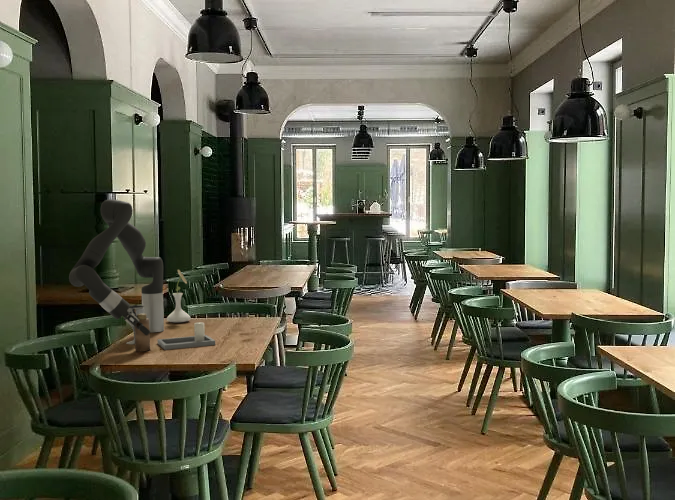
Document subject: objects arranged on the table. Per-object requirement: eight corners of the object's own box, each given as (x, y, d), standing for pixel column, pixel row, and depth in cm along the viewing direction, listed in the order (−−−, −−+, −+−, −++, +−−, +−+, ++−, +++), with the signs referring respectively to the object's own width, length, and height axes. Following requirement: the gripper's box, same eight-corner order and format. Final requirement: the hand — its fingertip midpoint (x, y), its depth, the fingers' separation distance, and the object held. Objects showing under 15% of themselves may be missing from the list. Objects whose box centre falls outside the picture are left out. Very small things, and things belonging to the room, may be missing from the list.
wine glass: (127, 345, 302) (126, 308, 300) (123, 342, 309) (122, 306, 308) (147, 343, 305) (145, 306, 304) (142, 340, 312) (141, 304, 311)
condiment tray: (157, 345, 300) (157, 339, 300) (206, 340, 308) (206, 334, 308) (164, 351, 287) (164, 345, 287) (215, 346, 295) (215, 340, 295)
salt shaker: (193, 342, 301) (193, 322, 300) (203, 341, 302) (202, 322, 302) (196, 344, 297) (195, 324, 297) (205, 343, 299) (205, 323, 298)
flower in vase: (188, 323, 352) (186, 271, 350) (164, 324, 352) (162, 271, 350) (193, 319, 365) (192, 268, 363) (170, 319, 365) (168, 268, 363)
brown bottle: (134, 349, 292) (133, 313, 291) (148, 347, 294) (147, 312, 293) (136, 351, 287) (135, 315, 286) (151, 350, 289) (150, 314, 288)
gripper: (124, 299, 279) (157, 328, 285) (118, 294, 293) (150, 322, 298) (110, 314, 278) (143, 343, 283) (104, 309, 291) (137, 336, 296)
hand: (146, 332), depth 291 cm, fingers closed on brown bottle, 5 cm apart
